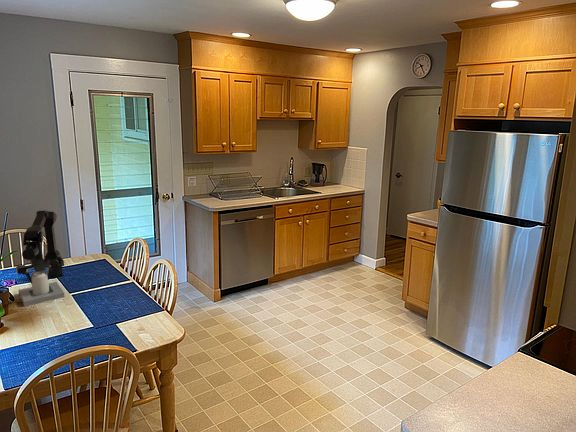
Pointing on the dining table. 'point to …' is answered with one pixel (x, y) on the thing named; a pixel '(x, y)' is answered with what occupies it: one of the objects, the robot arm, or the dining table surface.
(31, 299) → the pocket frame
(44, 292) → the can
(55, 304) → the dining table surface
